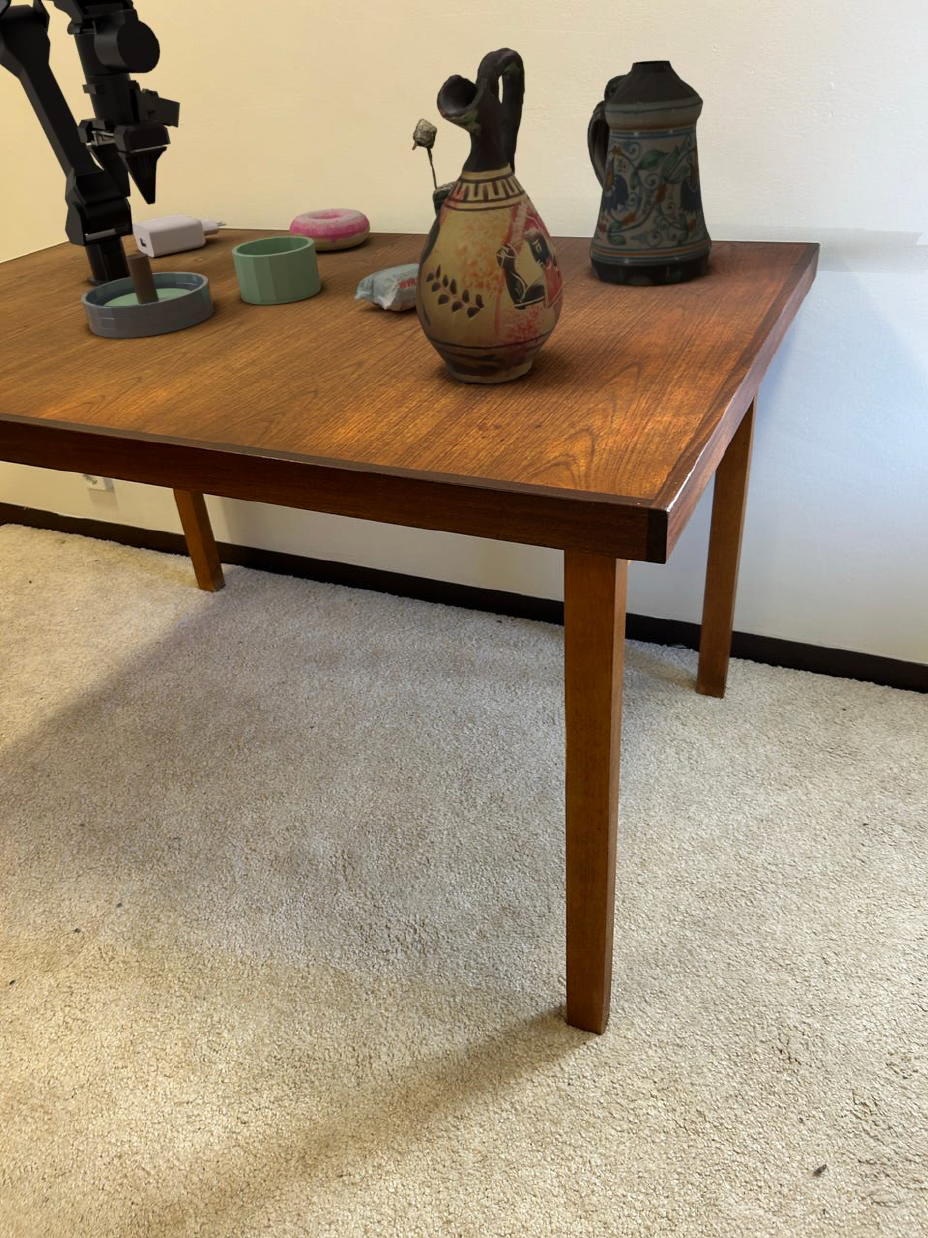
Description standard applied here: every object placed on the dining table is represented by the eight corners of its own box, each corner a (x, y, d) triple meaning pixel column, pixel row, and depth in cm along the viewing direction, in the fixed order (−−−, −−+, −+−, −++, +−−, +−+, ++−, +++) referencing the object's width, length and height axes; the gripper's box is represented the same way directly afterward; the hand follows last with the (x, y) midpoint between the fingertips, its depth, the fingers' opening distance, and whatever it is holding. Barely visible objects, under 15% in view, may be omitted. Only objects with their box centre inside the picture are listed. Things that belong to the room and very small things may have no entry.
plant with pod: (464, 278, 135) (452, 122, 123) (409, 268, 141) (393, 119, 130) (501, 264, 139) (493, 112, 128) (446, 256, 146) (434, 110, 135)
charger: (237, 241, 166) (154, 258, 160) (217, 233, 173) (138, 250, 166) (231, 212, 163) (147, 229, 157) (212, 206, 170) (130, 221, 164)
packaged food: (462, 301, 125) (459, 263, 122) (387, 323, 120) (382, 283, 117) (426, 290, 131) (422, 253, 128) (353, 310, 126) (347, 272, 123)
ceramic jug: (521, 404, 94) (505, 58, 77) (396, 384, 102) (357, 64, 85) (594, 349, 106) (595, 37, 89) (477, 335, 113) (457, 44, 96)
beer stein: (686, 290, 122) (699, 67, 108) (550, 280, 130) (545, 73, 116) (725, 257, 133) (741, 52, 119) (598, 250, 142) (599, 58, 128)
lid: (104, 305, 133) (89, 252, 129) (193, 291, 136) (180, 239, 132) (104, 329, 123) (87, 273, 119) (199, 313, 126) (186, 258, 122)
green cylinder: (228, 294, 137) (218, 248, 133) (296, 277, 142) (288, 232, 139) (264, 309, 129) (255, 260, 126) (335, 290, 135) (328, 242, 131)
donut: (367, 252, 152) (363, 219, 149) (285, 258, 153) (280, 225, 150) (375, 232, 163) (371, 202, 160) (299, 238, 164) (294, 208, 161)
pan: (73, 321, 132) (64, 292, 130) (184, 293, 140) (177, 265, 137) (116, 346, 120) (107, 315, 118) (234, 314, 128) (228, 284, 126)
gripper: (192, 66, 122) (219, 196, 130) (138, 65, 134) (166, 183, 143) (109, 77, 116) (143, 212, 125) (61, 75, 129) (95, 197, 138)
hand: (139, 200), depth 133 cm, fingers open, 9 cm apart
